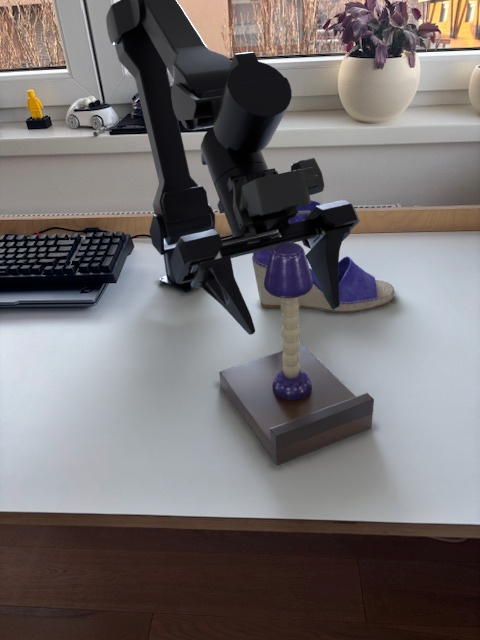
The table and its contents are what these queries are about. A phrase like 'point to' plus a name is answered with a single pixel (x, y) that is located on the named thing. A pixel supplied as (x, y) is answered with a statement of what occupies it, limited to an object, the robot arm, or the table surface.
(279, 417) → the shoe shelf
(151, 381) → the table surface
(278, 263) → the toy lamp
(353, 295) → the sandal
